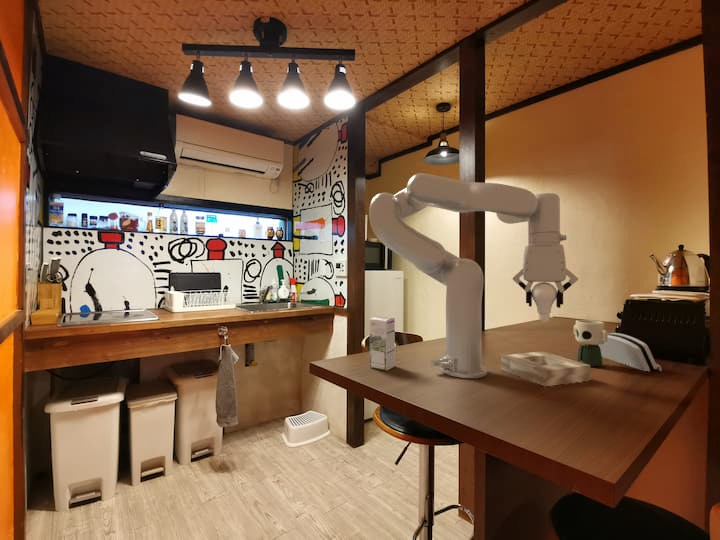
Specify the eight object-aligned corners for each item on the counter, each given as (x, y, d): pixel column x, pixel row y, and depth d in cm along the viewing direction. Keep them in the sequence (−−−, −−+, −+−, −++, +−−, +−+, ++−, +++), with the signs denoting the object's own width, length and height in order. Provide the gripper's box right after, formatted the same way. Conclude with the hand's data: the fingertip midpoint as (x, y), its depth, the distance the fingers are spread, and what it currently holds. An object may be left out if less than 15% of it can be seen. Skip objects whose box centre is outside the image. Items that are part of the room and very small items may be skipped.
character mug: (564, 360, 103) (564, 319, 103) (583, 359, 105) (583, 318, 105) (596, 371, 93) (596, 325, 93) (617, 369, 94) (617, 324, 94)
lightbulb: (526, 321, 92) (526, 281, 92) (547, 320, 93) (547, 281, 93) (540, 324, 86) (540, 282, 86) (562, 324, 87) (562, 282, 87)
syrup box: (395, 366, 98) (395, 317, 98) (386, 371, 93) (386, 319, 93) (378, 363, 101) (378, 315, 101) (368, 368, 96) (368, 318, 96)
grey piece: (663, 371, 93) (652, 338, 93) (648, 377, 93) (637, 344, 92) (614, 355, 109) (604, 327, 109) (601, 360, 109) (591, 332, 109)
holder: (544, 387, 80) (544, 370, 80) (500, 369, 95) (500, 355, 94) (590, 380, 85) (590, 365, 85) (541, 364, 99) (541, 351, 99)
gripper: (579, 239, 89) (580, 306, 89) (509, 242, 97) (509, 304, 97) (584, 237, 82) (584, 309, 82) (508, 240, 90) (508, 306, 90)
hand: (544, 306), depth 90 cm, fingers closed on lightbulb, 6 cm apart
